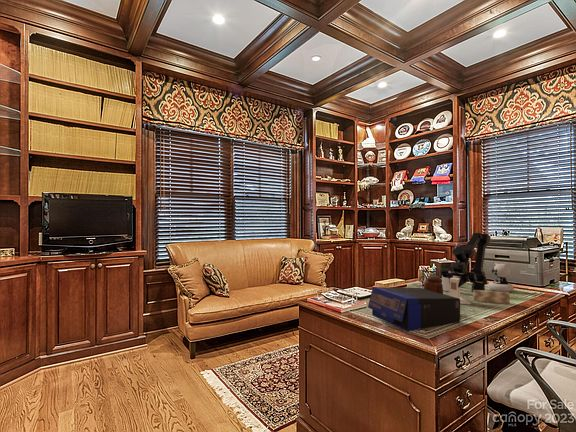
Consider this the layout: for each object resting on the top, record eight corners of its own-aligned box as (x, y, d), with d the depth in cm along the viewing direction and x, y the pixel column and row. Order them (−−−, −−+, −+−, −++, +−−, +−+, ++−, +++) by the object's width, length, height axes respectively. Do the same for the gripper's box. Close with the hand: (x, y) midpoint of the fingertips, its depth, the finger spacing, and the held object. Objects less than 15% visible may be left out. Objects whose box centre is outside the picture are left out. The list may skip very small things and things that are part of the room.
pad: (460, 298, 191) (460, 297, 191) (470, 304, 179) (470, 302, 179) (440, 298, 192) (440, 296, 192) (448, 303, 180) (448, 302, 180)
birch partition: (474, 300, 188) (474, 290, 188) (473, 299, 189) (473, 289, 189) (509, 303, 182) (509, 293, 182) (508, 302, 183) (508, 292, 183)
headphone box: (367, 315, 159) (367, 287, 159) (420, 308, 172) (420, 282, 172) (402, 332, 136) (402, 299, 136) (460, 322, 150) (460, 292, 150)
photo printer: (440, 290, 213) (441, 272, 213) (443, 289, 216) (444, 271, 216) (456, 293, 205) (457, 274, 205) (459, 292, 208) (459, 273, 208)
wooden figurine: (447, 310, 168) (447, 276, 168) (440, 312, 164) (440, 277, 164) (427, 305, 178) (427, 273, 178) (420, 306, 175) (420, 274, 175)
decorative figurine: (482, 287, 221) (482, 259, 221) (501, 287, 223) (502, 259, 223) (499, 293, 206) (499, 262, 206) (519, 292, 208) (519, 262, 208)
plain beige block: (460, 297, 186) (460, 278, 186) (457, 298, 183) (457, 279, 183) (452, 295, 189) (452, 277, 189) (449, 297, 186) (449, 278, 186)
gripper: (441, 255, 195) (433, 275, 188) (475, 258, 181) (467, 280, 174) (447, 266, 201) (439, 286, 193) (480, 270, 187) (473, 292, 179)
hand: (454, 286), depth 185 cm, fingers closed on plain beige block, 4 cm apart
